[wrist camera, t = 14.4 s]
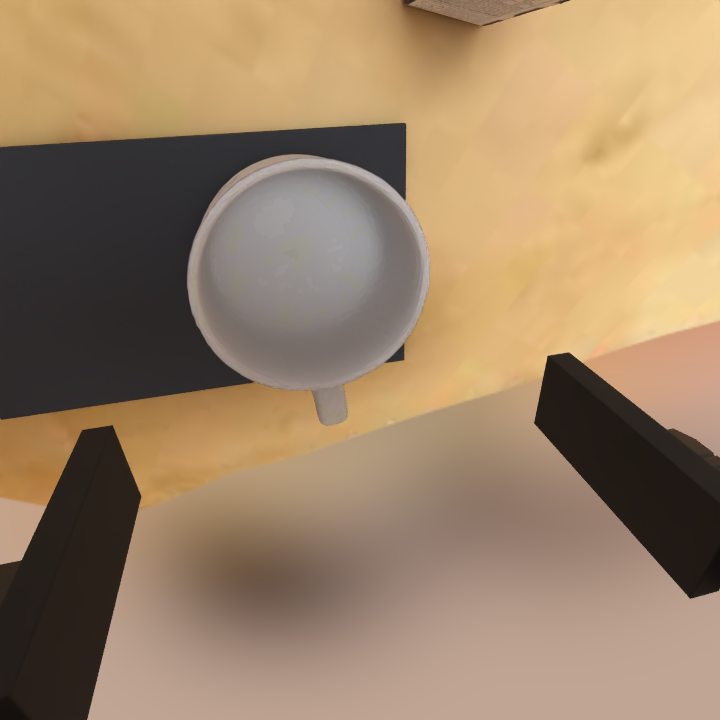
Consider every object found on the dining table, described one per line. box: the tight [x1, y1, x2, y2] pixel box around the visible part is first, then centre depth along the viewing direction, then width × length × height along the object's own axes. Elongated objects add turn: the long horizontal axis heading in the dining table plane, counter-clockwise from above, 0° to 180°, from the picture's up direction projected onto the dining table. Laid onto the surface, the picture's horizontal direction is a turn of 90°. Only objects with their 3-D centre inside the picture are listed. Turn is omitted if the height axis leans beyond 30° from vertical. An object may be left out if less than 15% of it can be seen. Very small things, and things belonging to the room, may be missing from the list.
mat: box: [0, 123, 406, 420], centre depth 27 cm, size 26×15×1 cm, turn 93°
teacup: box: [187, 154, 430, 425], centre depth 24 cm, size 14×11×8 cm
